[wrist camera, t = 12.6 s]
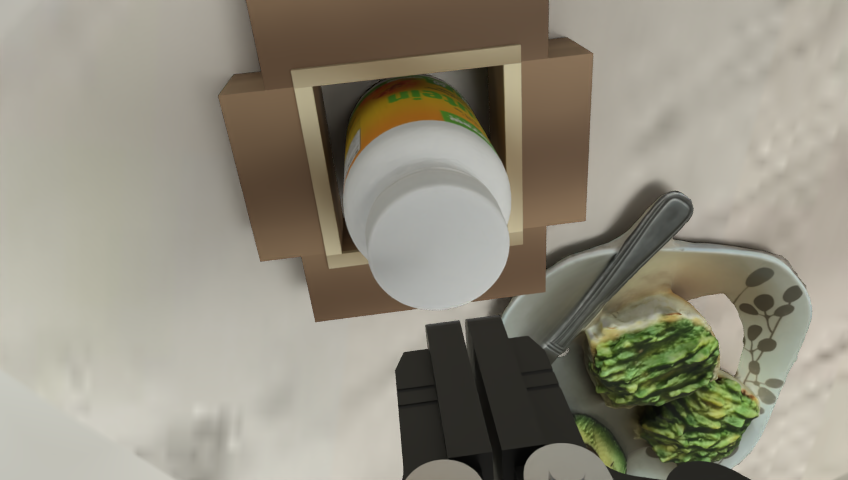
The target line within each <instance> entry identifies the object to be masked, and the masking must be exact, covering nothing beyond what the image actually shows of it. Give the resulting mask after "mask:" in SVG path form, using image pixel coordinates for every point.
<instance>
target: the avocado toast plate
mask: <svg viewBox="0 0 848 480" xmlns="http://www.w3.org/2000/svg"><path fill="white" fill-rule="evenodd" d="M693 209H694V208H693V205H692V202H691V199H689V198H688V197H687V196H686V195H684V194H683V193H681V192H679V191H671V192H668V193H665V194H663V195H662V196H660V197H659V198H658V199H657V200H656V201H655V202H654V203H653V204H652V205H651V206H650V207H649V208H648V209H647V210H646V211H645V212H644V213H643V215H642V216H641V217H640V218H639V219H638V221H637V222H636V223H634V224H633V226H632V227H631V228H630V229H629V230H628V231H627V232H626V233H624V234H623V235H621V236H620V237H618V238H616V239H614V240H612V241H611V242H609V243H606V244H603V245H599V246H596V247H594V248H591V249H588V250H585V251H582V252H579V253H575V254H571V255H569V256H567V257H565V258H563V259H562V260H560V261H559V262H557V263H556V264H555V265H553V266H551V267H550V268H548V269H547V270H546V292H543V293H535V294H528V295H520V296H513V298H512V299H511V301H510V303H509V304H508V306H507V307H506V309H505V310H504V312H503V314H502V317H501V319H502V321H503V324H504V327H505V330H506V332H507V335H508V338H514V337H521V336H529V337H530V338H532V339H533V340H534V341H535V342H536V343H537V344H538V345H539V346H541V347H542V348H543V349H544V350H545V352H546V354H547V357H548V359H549V361H550V364H551V366H552V368H553V372H554V373H555V375H556V378H557V380H558V382H559V387H561V389H562V392H563V394H564V396H565V399H566V401H567V403H568V406H569V408H570V410H571V413H572V415H573V417H574V420H575V422H576V424H577V427H578V429H579V432H580V434H581V436H582V439H583V441H584V443H585V445H586V447H587V449H588V450H589V451H591V452H593V453H594V454H595V455H596V456H598V457H599V458H600V459H601V460H602V462H603V463H604V464H605V465H606V466H608V467H609V468H611V469H613V470H616V471H618V472H621V473H624V474H628V475H633V476H639V477H646V478H653V479H661V480H666V479H667V477H668V475H669V473H670V472H671V471H672V470H673V469H674V468H675V467H677V466H679V465H681V464H683V463H686V462H691V461H707V462H713V463H717V464H720V465H723V466H726V467H728V468H730V469H732V468H733V467H734V466H736V465H738V464H740V463H741V462H742V461H743V459H744V458H745V457H746V456H747V455H748V454H749V453H750V452H751V451H752V450H753V448H754V447H755V445H756V444H757V442H758V441H759V439H760V437H761V435H762V433H763V431H764V429H765V427H766V424H767V422H768V420H769V418H770V415H771V413H772V410H773V408H774V406H775V404H776V401H777V399H778V396H779V393H780V391H781V389H782V387H783V385H784V383H785V381H786V377H787V374H788V372H789V371H790V369H791V367H792V365H793V363H794V362H795V361H796V360H797V355H798V352H799V350H800V348H801V346H802V343H803V341H804V338H805V335H806V333H807V330H808V328H809V325H810V322H811V318H812V305H811V301H810V297H809V295H808V293H807V290H806V285H805V284H804V283H803V282H802V281H801V280H800V278H799V277H798V275H797V273H796V272H795V271H794V270H793V268H792V266H791V265H790V263H789V262H788V261H787V260H786V259H785V258H784V257H783V256H780V255H777V254H773V253H770V252H766V251H760V250H753V249H748V248H742V247H736V246H729V245H721V244H712V243H690V242H686V241H680V240H674V239H673V238H672V237H673V236H674V235H675V234H676V233H677V232H678V231H679V230H680V229H681V228H682V227H683V226H684V225H685V223H686V222H688V221H689V219H690V218H691V216H692V214H693ZM720 293H723V294H725V295H726V296H727V297H728V298H729V299H730V301H731V302H732V303H733V304H734V305H735V307H736V309H737V310H738V313H739V317H740V319H741V322H742V324H743V329H744V338H743V343H744V347H743V351H742V354H741V357H740V362H739V366H738V369H737V372H736V375H735V376H734V377H733V376H731V375H729V374H728V373H726V372H724V371H722V370H720V354H719V345H718V344H719V343H718V340H717V339H716V338H715V335H714V333H713V332H712V330H711V326H709V325H708V324H707V322H706V320H705V318H704V317H703V316H702V315H701V314H700V313H699V312H698V311H697V310H696V309H695V308H694V307H693V306H692V305H691V304H690V303H689V302H687V301H688V300H690V299H694V298H698V297H701V296H705V295H713V294H720ZM567 348H569V349H570V350H569V352H568V353H567V355H565V356H563V357H558V356H559V355H561V354H562V353H563V352H565V351H566V349H567Z"/></svg>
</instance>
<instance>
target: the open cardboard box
mask: <svg viewBox="0 0 848 480" xmlns="http://www.w3.org/2000/svg"><path fill="white" fill-rule="evenodd" d="M246 3H247V8H248V13H249V17H250V22H251V26H252V31H253V36H254V40H255V45H256V50H257V54H258V59H259V63H260V68H261V72H252V73H243V74H234V75H233V76H232V77H231V79H230V80H229V82H228V83H227V84H226V86H225V87H224V88H223V90H222V91H221V92H220V94H219V95H218V97H219V101H220V105H221V109H222V113H223V117H224V121H225V125H226V129H227V133H228V137H229V140H230V144H231V148H232V152H233V156H234V160H235V164H236V168H237V172H238V176H239V180H240V184H241V187H242V191H243V195H244V199H245V203H246V207H247V211H248V215H249V219H250V223H251V227H252V231H253V234H254V238H255V242H256V246H257V250H258V254H259V258H260V262H262V261H270V260H278V259H286V258H294V257H301V258H302V262H303V267H304V271H305V276H306V281H307V285H308V290H309V295H310V299H311V304H312V308H313V313H314V318H315V322H320V321H328V320H335V319H343V318H351V317H358V316H366V315H374V314H382V313H389V312H397V311H405V310H412V309H417V308H413V307H410V306H408V305H405V304H403V303H401V302H399V301H397V300H395V299H394V298H392V297H391V296H390V295H388V294H387V293H386V292H385V291H384V290H383V289H382V288H381V286H380V285H379V284H378V283H377V281H376V280H375V278H374V276H373V274H372V272H371V269H370V266H369V263H368V260H367V259H366V258H365V257H364V256H363V255H362V253H361V252H360V251H359V250H358V248H357V247H356V245H355V244H354V242H353V240H352V238H351V236H350V234H349V231H348V229H347V225H346V221H345V217H344V218H343V213H342V207H341V202H340V196H339V190H338V184H337V178H336V172H335V166H334V161H333V155H332V149H331V143H330V137H329V131H328V126H327V120H326V114H325V108H324V102H323V96H322V91H321V86H322V85H331V84H339V83H348V82H357V81H366V80H375V79H383V78H392V77H401V76H410V75H419V74H428V73H436V72H445V71H454V70H463V69H472V68H481V67H487V73H488V100H489V126H490V143H491V144H492V146H493V148H494V149H495V151H496V153H497V154H498V156H499V158H500V160H501V161H502V164H503V166H504V168H505V171H506V173H507V176H508V179H509V183H510V190H511V212H510V217H509V221H508V224H507V227H508V231H509V238H510V246H509V254H508V258H507V262H506V265H505V267H504V269H503V271H502V273H501V274H500V276H499V278H498V279H497V280H496V282H495V283H494V284H493V285H492V286H491V287H490V288H489V289H488V290H487V291H486V292H485V293H483V294H482V295H481V296H479V297H478V298H476V299H475V300H473V301H471V302H474V301H482V300H489V299H497V298H505V297H512V296H520V295H528V294H535V293H543V292H546V226H549V225H557V224H565V223H573V222H581V221H586V200H587V178H588V156H589V135H590V113H591V91H592V69H593V53H592V52H590V51H589V50H587V49H585V48H584V47H582V46H581V45H579V44H577V43H576V42H574V41H572V40H571V39H569V38H568V37H565V38H556V39H548V23H549V0H246Z"/></svg>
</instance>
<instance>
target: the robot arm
mask: <svg viewBox="0 0 848 480" xmlns="http://www.w3.org/2000/svg"><path fill="white" fill-rule="evenodd" d="M425 327H426V337H427V346H428V349H425V350H417V351H410V352H404V353H403V355H402V357H401V359H400V361H399V363H398V366H397V368H396V370H395V374H396V385H397V397H398V408H399V421H400V433H401V444H402V456H403V479H402V480H661V479H653V478H646V477H639V476H633V475H628V474H624V473H621V472H618V471H616V470H613V469H611V468H609V467H608V466H606V465H605V464H604V463H603V462H602V460H601V459H600V458H599V457H598V456H596V455H595V454H594V453H593V452H591V451H589V450H588V449H587V447H586V445H585V443H584V441H583V439H582V436H581V434H580V432H579V429H578V427H577V424H576V422H575V420H574V417H573V415H572V413H571V410H570V408H569V406H568V403H567V401H566V399H565V396H564V394H563V392H562V389H561V387H559V382H558V380H557V378H556V375H555V373H554V372H553V368H552V366H551V364H550V361H549V359H548V357H547V354H546V352H545V350H544V349H543V348H542V347H541V346H539V345H538V344H537V343H536V342H535V341H534V340H533V339H532V338H530V337H529V336H521V337H514V338H508V335H507V332H506V330H505V327H504V324H503V321H502V319H501V316H500V315H496V316H488V317H480V318H473V319H466V320H465V330H466V344H467V348H466V344H465V340H464V336H463V332H462V328H461V324H460V321H459V320H458V321H451V322H443V323H436V324H428V325H425ZM666 480H750V479H749V478H747V477H745V476H743V475H741V474H739V473H738V472H736V471H734V470H732V469H730V468H728V467H726V466H723V465H720V464H717V463H713V462H707V461H691V462H686V463H683V464H681V465H679V466H677V467H675V468H674V469H673V470H672V471H671V472H670V473H669V475H668V477H667V479H666Z"/></svg>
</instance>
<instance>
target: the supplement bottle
mask: <svg viewBox="0 0 848 480" xmlns="http://www.w3.org/2000/svg"><path fill="white" fill-rule="evenodd" d="M343 207H344V216H345V221H346V225H347V229H348V231H349V234H350V236H351V238H352V240H353V242H354V244H355V245H356V247H357V248H358V250H359V251H360V252H361V253H362V255H363V256H364V257H365V258H366V259H367V260H368V263H369V266H370V269H371V272H372V274H373V276H374V278H375V280H376V281H377V283H378V284H379V285H380V286H381V288H382V289H383V290H384V291H385V292H386V293H387V294H388V295H390V296H391V297H392V298H394V299H395V300H397V301H399V302H401V303H403V304H405V305H408V306H410V307H413V308H417V309H423V310H446V309H451V308H456V307H459V306H462V305H464V304H467V303H469V302H471V301H473V300H475V299H476V298H478V297H479V296H481V295H482V294H483V293H485V292H486V291H487V290H488V289H489V288H490V287H491V286H492V285H493V284H494V283H495V282H496V280H497V279H498V278H499V276H500V274H501V273H502V271H503V269H504V267H505V265H506V262H507V258H508V254H509V246H510V238H509V231H508V227H507V224H508V221H509V217H510V212H511V190H510V183H509V179H508V176H507V173H506V171H505V168H504V166H503V164H502V161H501V160H500V158H499V156H498V154H497V153H496V151H495V149H494V148H493V146H492V144H491V143H490V141H489V139H488V138H487V135H486V134H485V132H484V130H483V129H482V127H481V125H480V124H479V122H478V120H477V118H476V117H475V115H474V113H473V111H472V109H471V108H470V106H469V105H468V103H467V102H466V100H465V99H464V98H463V96H462V95H461V94H460V93H459V92H458V91H457V90H456V89H454V88H453V87H452V86H451V85H449V84H447V83H446V82H444V81H442V80H440V79H438V78H435V77H432V76H428V75H423V74H419V75H410V76H401V77H392V78H388V79H385V80H383V81H381V82H379V83H378V84H376V85H375V86H373V87H372V88H370V89H369V90H368V91H367V92H366V93H365V94H364V95H363V96H362V97H361V99H360V100H359V101H358V103H357V104H356V106H355V108H354V110H353V112H352V114H351V117H350V119H349V123H348V126H347V132H346V144H345V166H344V188H343Z"/></svg>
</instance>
